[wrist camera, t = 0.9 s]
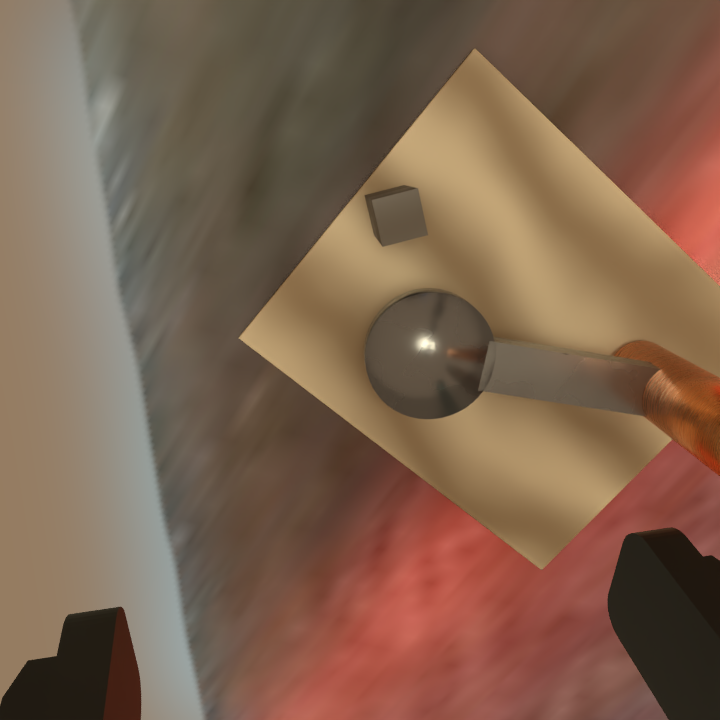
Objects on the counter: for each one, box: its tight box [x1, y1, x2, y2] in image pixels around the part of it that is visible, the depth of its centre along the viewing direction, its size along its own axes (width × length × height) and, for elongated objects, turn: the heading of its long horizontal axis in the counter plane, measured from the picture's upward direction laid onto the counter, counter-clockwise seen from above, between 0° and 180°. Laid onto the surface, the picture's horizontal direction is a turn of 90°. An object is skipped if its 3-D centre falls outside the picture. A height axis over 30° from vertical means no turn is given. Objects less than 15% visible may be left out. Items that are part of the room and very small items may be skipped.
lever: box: [364, 288, 720, 476], centre depth 28 cm, size 17×6×16 cm, turn 80°
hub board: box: [239, 49, 720, 570], centre depth 34 cm, size 18×22×6 cm
